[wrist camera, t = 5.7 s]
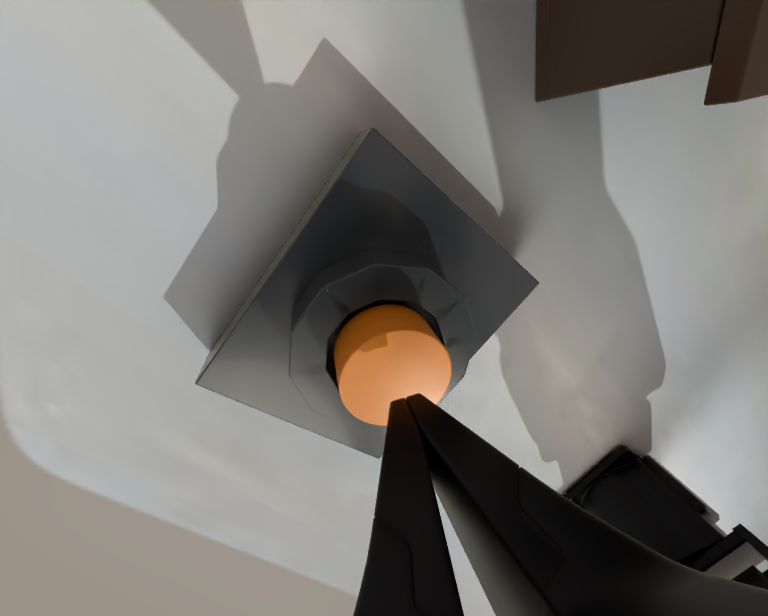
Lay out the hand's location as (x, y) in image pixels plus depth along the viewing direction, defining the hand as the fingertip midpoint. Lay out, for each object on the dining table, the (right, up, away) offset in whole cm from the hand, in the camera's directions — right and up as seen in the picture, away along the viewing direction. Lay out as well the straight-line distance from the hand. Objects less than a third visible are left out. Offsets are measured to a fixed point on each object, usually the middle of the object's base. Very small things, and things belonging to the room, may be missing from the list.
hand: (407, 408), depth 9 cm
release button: (-1, +1, +3) cm, 3 cm away
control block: (-1, +3, +6) cm, 7 cm away
